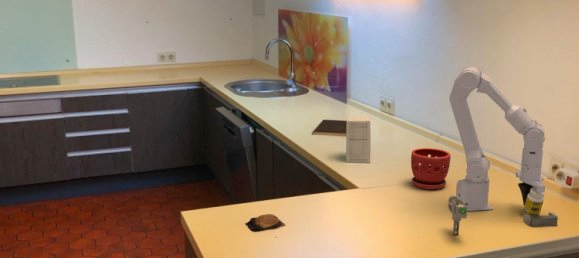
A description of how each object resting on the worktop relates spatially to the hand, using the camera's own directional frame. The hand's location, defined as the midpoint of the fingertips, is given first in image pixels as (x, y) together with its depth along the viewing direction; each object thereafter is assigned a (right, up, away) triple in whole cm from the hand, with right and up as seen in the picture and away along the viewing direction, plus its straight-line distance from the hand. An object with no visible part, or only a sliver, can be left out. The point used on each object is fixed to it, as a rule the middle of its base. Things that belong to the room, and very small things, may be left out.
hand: (527, 206), depth 191 cm
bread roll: (-80, -5, -7) cm, 81 cm away
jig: (+1, -4, -8) cm, 9 cm away
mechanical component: (-26, -6, -15) cm, 31 cm away
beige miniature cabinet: (-46, +12, +55) cm, 73 cm away
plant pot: (-24, +4, +25) cm, 35 cm away
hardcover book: (-52, +23, +102) cm, 116 cm away
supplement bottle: (0, -2, -2) cm, 3 cm away
